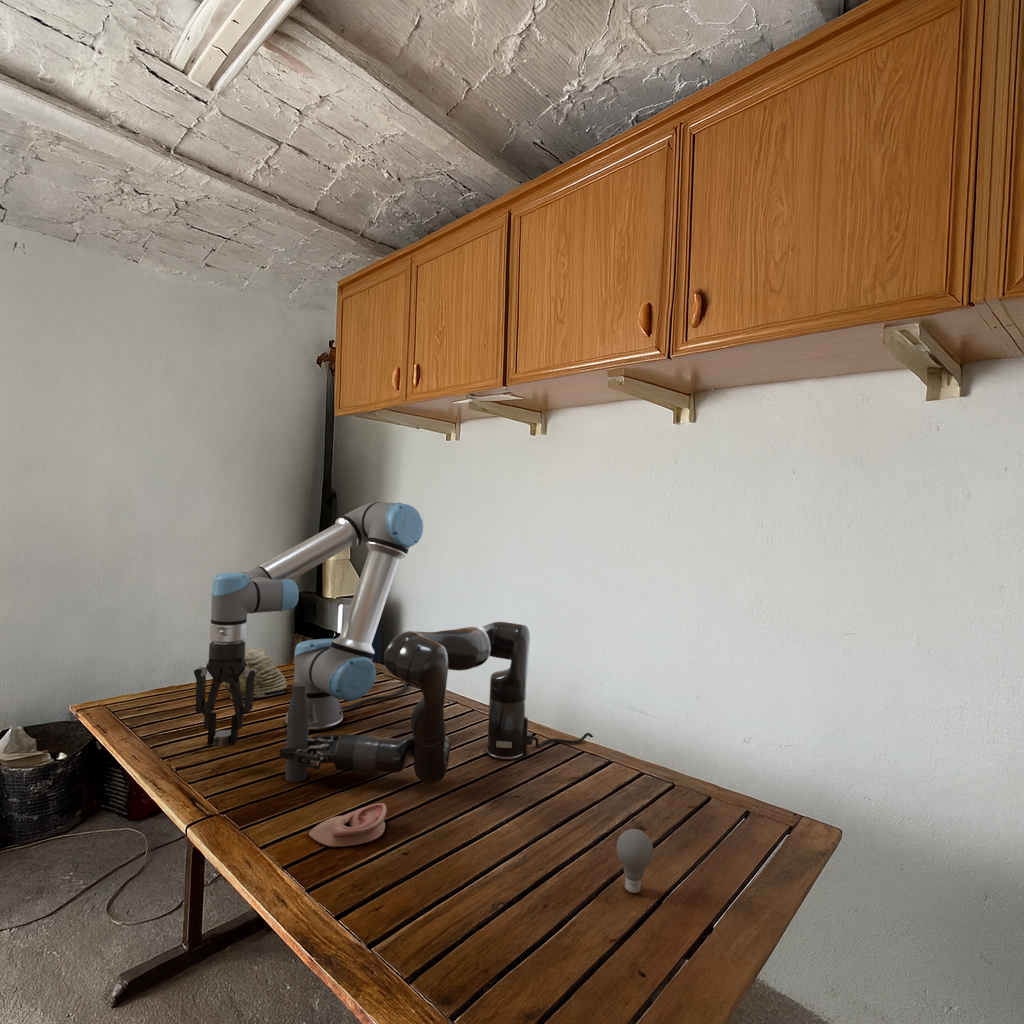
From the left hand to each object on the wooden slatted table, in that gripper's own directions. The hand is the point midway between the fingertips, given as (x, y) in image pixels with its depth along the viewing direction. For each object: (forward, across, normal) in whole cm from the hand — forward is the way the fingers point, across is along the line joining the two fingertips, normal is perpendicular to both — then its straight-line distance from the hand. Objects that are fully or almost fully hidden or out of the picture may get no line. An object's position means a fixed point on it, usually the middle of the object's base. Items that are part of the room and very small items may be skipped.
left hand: (222, 742), depth 144 cm
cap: (-2, 0, 0) cm, 2 cm away
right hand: (0, +15, -4) cm, 15 cm away
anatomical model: (+6, +33, -28) cm, 43 cm away
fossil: (+6, -9, +55) cm, 56 cm away
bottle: (+6, +18, -4) cm, 19 cm away
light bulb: (+6, +82, -48) cm, 95 cm away
